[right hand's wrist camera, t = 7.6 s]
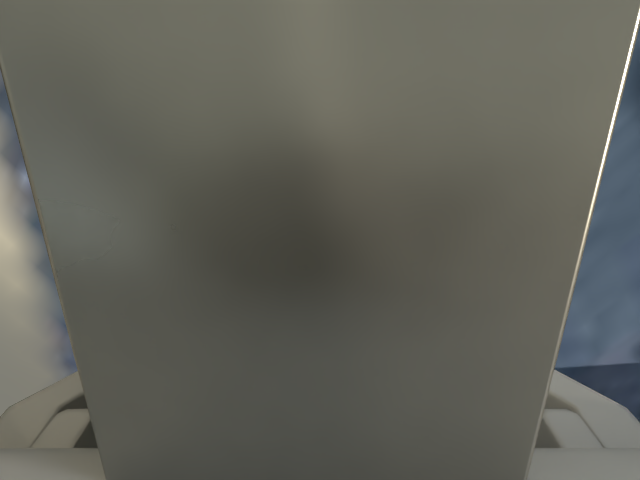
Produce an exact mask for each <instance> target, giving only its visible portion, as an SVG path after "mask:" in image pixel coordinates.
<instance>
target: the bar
mask: <svg viewBox="0 0 640 480" xmlns="http://www.w3.org/2000/svg"><path fill="white" fill-rule="evenodd" d="M639 26H640V0H0V69H1V72H2V76H3V80H4V84H5V88H6V92H7V96H8V100H9V104H10V108H11V111H12V115H13V119H14V123H15V127H16V131H17V135H18V139H19V143H20V147H21V150H22V154H23V158H24V162H25V166H26V170H27V174H28V178H29V182H30V185H31V189H32V193H33V197H34V201H35V205H36V209H37V213H38V217H39V221H40V224H41V228H42V232H43V236H44V240H45V244H46V248H47V252H48V256H49V260H50V263H51V267H52V271H53V275H54V279H55V283H56V287H57V291H58V295H59V299H60V302H61V306H62V310H63V314H64V318H65V322H66V326H67V330H68V334H69V337H70V341H71V345H72V349H73V353H74V357H75V361H76V365H77V369H78V373H79V376H80V380H81V384H82V388H83V392H84V396H85V400H86V404H87V408H88V412H89V415H90V419H91V423H92V427H93V431H94V435H95V439H96V443H97V447H98V451H99V454H100V458H101V462H102V466H103V470H104V474H105V478H106V480H527V477H528V473H529V469H530V465H531V461H532V457H533V453H534V449H535V445H536V441H537V437H538V433H539V429H540V425H541V421H542V417H543V413H544V409H545V405H546V401H547V397H548V393H549V388H550V384H551V380H552V376H553V372H554V368H555V364H556V360H557V356H558V352H559V348H560V344H561V340H562V336H563V332H564V328H565V324H566V320H567V316H568V312H569V308H570V304H571V300H572V296H573V292H574V288H575V284H576V280H577V276H578V272H579V268H580V264H581V260H582V256H583V252H584V247H585V243H586V239H587V235H588V231H589V227H590V223H591V219H592V215H593V211H594V207H595V203H596V199H597V195H598V191H599V187H600V183H601V179H602V175H603V171H604V167H605V163H606V159H607V155H608V151H609V147H610V143H611V139H612V135H613V131H614V127H615V123H616V119H617V115H618V111H619V106H620V102H621V98H622V94H623V90H624V86H625V82H626V78H627V74H628V70H629V66H630V62H631V58H632V54H633V50H634V46H635V42H636V38H637V34H638V30H639Z"/></svg>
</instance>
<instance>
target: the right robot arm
mask: <svg viewBox="0 0 640 480" xmlns="http://www.w3.org/2000/svg"><path fill="white" fill-rule="evenodd" d="M0 480H106V478H105V474H104V470H103V466H102V462H101V458H100V454H99V451H98V447H97V443H96V439H95V435H94V431H93V427H92V423H91V419H90V415H89V412H88V408H87V404H86V400H85V396H84V392H83V388H82V384H81V380H80V376H79V373H78V371H77V372H75V373H73V374H71V375H69V376H68V377H66V378H64V379H62V380H60V381H58V382H56V383H54V384H52V385H50V386H48V387H46V388H45V389H43V390H41V391H39V392H37V393H35V394H33V395H31V396H29V397H27V398H26V399H24V400H22V401H20V402H18V403H16V404H14V405H12V406H10V407H9V408H8V409H7V410H6V411H5V412H4V413H3V414H2V415H1V416H0ZM527 480H640V422H639V421H638V420H637V419H636V418H635V417H634V416H633V414H632V413H631V412H630V411H629V410H628V409H627V408H626V407H624V406H622V405H620V404H618V403H617V402H615V401H613V400H611V399H609V398H607V397H605V396H603V395H601V394H600V393H598V392H596V391H594V390H592V389H590V388H588V387H586V386H585V385H583V384H581V383H579V382H577V381H575V380H573V379H571V378H569V377H568V376H566V375H564V374H562V373H560V372H558V371H556V370H554V372H553V376H552V380H551V384H550V388H549V393H548V397H547V401H546V405H545V409H544V413H543V417H542V421H541V425H540V429H539V433H538V437H537V441H536V445H535V449H534V453H533V457H532V461H531V465H530V469H529V473H528V477H527Z"/></svg>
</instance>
